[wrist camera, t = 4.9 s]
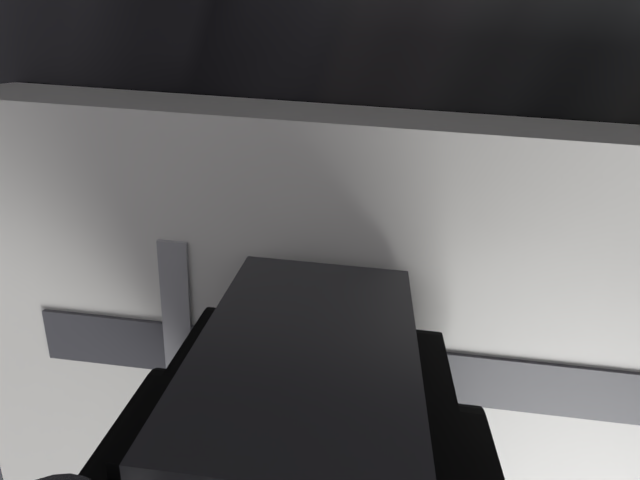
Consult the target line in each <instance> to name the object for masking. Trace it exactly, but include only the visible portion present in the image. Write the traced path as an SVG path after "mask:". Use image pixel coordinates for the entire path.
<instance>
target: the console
mask: <svg viewBox="0 0 640 480" xmlns="http://www.w3.org/2000/svg"><path fill="white" fill-rule="evenodd" d="M247 256H252V257H263V258H274V259H284V260H295V261H305V262H316V263H327V264H337V265H348V266H358V267H369V268H380V269H390V270H401V271H408V275H409V282H410V289H411V297H412V304H413V311H414V319H415V326H416V329H418V330H427V331H436V332H442V335H443V338H444V343H445V347H446V352H447V356H448V361H449V365H450V370H451V374H452V379H453V383H454V387H455V392H456V396H457V401H458V403H459V404H468V405H476V406H481V407H482V408H483V409H484V411H485V414H486V416H487V420H488V423H489V427H490V430H491V434H492V437H493V440H494V444H495V447H496V451H497V454H498V457H499V461H500V464H501V468H502V471H503V474H504V478H505V480H640V125H637V124H622V123H608V122H593V121H578V120H564V119H549V118H534V117H520V116H505V115H490V114H475V113H461V112H446V111H431V110H417V109H402V108H387V107H373V106H358V105H343V104H329V103H314V102H299V101H284V100H270V99H255V98H240V97H226V96H211V95H196V94H182V93H167V92H152V91H138V90H123V89H108V88H94V87H79V86H64V85H49V84H35V83H20V82H13V83H3V84H0V467H1V471H2V475H3V479H4V480H36V479H40V478H43V477H47V476H50V475H54V474H68V473H71V474H77V475H78V474H79V473H80V471H81V470H82V468H83V467H84V465H85V464H86V462H87V461H88V460H89V458H90V457H91V455H92V454H93V452H94V451H95V450H96V448H97V447H98V445H99V444H100V442H101V441H102V440H103V438H104V437H105V435H106V434H107V432H108V431H109V429H110V428H111V427H112V425H113V424H114V422H115V421H116V419H117V418H118V417H119V415H120V414H121V412H122V411H123V409H124V408H125V406H126V405H127V404H128V402H129V401H130V399H131V398H132V396H133V395H134V394H135V392H136V391H137V389H138V388H139V386H140V385H141V383H142V382H143V381H144V379H145V378H146V376H147V375H148V374H149V373H150V371H151V370H152V369H154V368H165V369H166V368H167V367H168V365H169V364H170V362H171V360H172V359H173V357H174V356H175V354H176V353H177V351H178V350H179V348H180V347H181V345H182V344H183V342H184V340H185V339H186V337H187V336H188V334H189V333H190V331H191V330H192V328H193V327H194V325H195V324H196V322H197V321H198V319H199V317H200V316H201V314H202V313H203V311H204V310H205V309H206V308H207V307H214V308H216V307H217V305H218V304H219V302H220V300H221V299H222V297H223V295H224V294H225V292H226V291H227V289H228V287H229V286H230V284H231V282H232V281H233V279H234V278H235V276H236V274H237V273H238V271H239V269H240V268H241V266H242V265H243V263H244V261H245V260H246V258H247Z"/></svg>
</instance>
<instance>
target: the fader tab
mask: <svg viewBox="0 0 640 480" xmlns="http://www.w3.org/2000/svg"><path fill="white" fill-rule="evenodd" d="M119 467H120V475H121V480H436V474H435V466H434V459H433V452H432V444H431V437H430V430H429V422H428V415H427V407H426V400H425V393H424V385H423V378H422V371H421V363H420V356H419V348H418V341H417V334H416V326H415V319H414V311H413V304H412V297H411V289H410V282H409V275H408V271H401V270H390V269H380V268H369V267H358V266H348V265H337V264H327V263H316V262H305V261H295V260H284V259H274V258H263V257H252V256H247V258H246V260H245V261H244V263H243V265H242V266H241V268H240V269H239V271H238V273H237V274H236V276H235V278H234V279H233V281H232V282H231V284H230V286H229V287H228V289H227V291H226V292H225V294H224V295H223V297H222V299H221V300H220V302H219V304H218V305H217V307H216V309H215V310H214V312H213V313H212V315H211V317H210V318H209V320H208V322H207V323H206V325H205V326H204V328H203V330H202V331H201V333H200V335H199V336H198V338H197V339H196V341H195V343H194V344H193V346H192V348H191V349H190V351H189V352H188V354H187V356H186V357H185V359H184V361H183V362H182V364H181V365H180V367H179V369H178V370H177V372H176V374H175V375H174V377H173V379H172V380H171V382H170V383H169V385H168V387H167V388H166V390H165V392H164V393H163V395H162V396H161V398H160V400H159V401H158V403H157V405H156V406H155V408H154V409H153V411H152V413H151V414H150V416H149V418H148V419H147V421H146V422H145V424H144V426H143V427H142V429H141V431H140V432H139V434H138V435H137V437H136V439H135V440H134V442H133V444H132V445H131V447H130V449H129V450H128V452H127V453H126V455H125V457H124V458H123V460H122V462H121V463H120V465H119Z"/></svg>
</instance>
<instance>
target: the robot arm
mask: <svg viewBox="0 0 640 480" xmlns="http://www.w3.org/2000/svg"><path fill="white" fill-rule="evenodd" d="M215 309H216V308H214V307H207V308H206V309H205V310H204V311H203V313H202V314H201V316H200V317H199V319H198V321H197V322H196V324H195V325H194V327H193V328H192V330H191V331H190V333H189V334H188V336H187V337H186V339H185V340H184V342H183V344H182V345H181V347H180V348H179V350H178V351H177V353H176V354H175V356H174V357H173V359H172V360H171V362H170V364H169V365H168V367H167V368H166V369H165V368H154V369H152V370H151V371H150V373H149V374H148V375H147V376H146V378H145V379H144V381H143V382H142V383H141V385H140V386H139V388H138V389H137V391H136V392H135V394H134V395H133V396H132V398H131V399H130V401H129V402H128V404H127V405H126V406H125V408H124V409H123V411H122V412H121V414H120V415H119V417H118V418H117V419H116V421H115V422H114V424H113V425H112V427H111V428H110V429H109V431H108V432H107V434H106V435H105V437H104V438H103V440H102V441H101V442H100V444H99V445H98V447H97V448H96V450H95V451H94V452H93V454H92V455H91V457H90V458H89V460H88V461H87V462H86V464H85V465H84V467H83V468H82V470H81V471H80V473H79V474H78V475H77V474H71V473H68V474H54V475H50V476H47V477H43V478H40V479H36V480H121V475H120V467H119V465H120V463H121V462H122V460H123V458H124V457H125V455H126V453H127V452H128V450H129V449H130V447H131V445H132V444H133V442H134V440H135V439H136V437H137V435H138V434H139V432H140V431H141V429H142V427H143V426H144V424H145V422H146V421H147V419H148V418H149V416H150V414H151V413H152V411H153V409H154V408H155V406H156V405H157V403H158V401H159V400H160V398H161V396H162V395H163V393H164V392H165V390H166V388H167V387H168V385H169V383H170V382H171V380H172V379H173V377H174V375H175V374H176V372H177V370H178V369H179V367H180V365H181V364H182V362H183V361H184V359H185V357H186V356H187V354H188V352H189V351H190V349H191V348H192V346H193V344H194V343H195V341H196V339H197V338H198V336H199V335H200V333H201V331H202V330H203V328H204V326H205V325H206V323H207V322H208V320H209V318H210V317H211V315H212V313H213V312H214V310H215ZM416 334H417V341H418V348H419V356H420V363H421V371H422V378H423V385H424V393H425V400H426V407H427V415H428V422H429V430H430V437H431V444H432V452H433V459H434V466H435V474H436V480H505V478H504V474H503V471H502V468H501V464H500V461H499V457H498V454H497V451H496V447H495V444H494V440H493V437H492V434H491V430H490V427H489V423H488V420H487V416H486V414H485V411H484V409H483V408H482V407H481V406H476V405H468V404H459V403H458V401H457V396H456V392H455V387H454V383H453V379H452V374H451V370H450V365H449V361H448V356H447V352H446V347H445V343H444V338H443V335H442V332H436V331H427V330H418V329H416Z"/></svg>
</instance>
